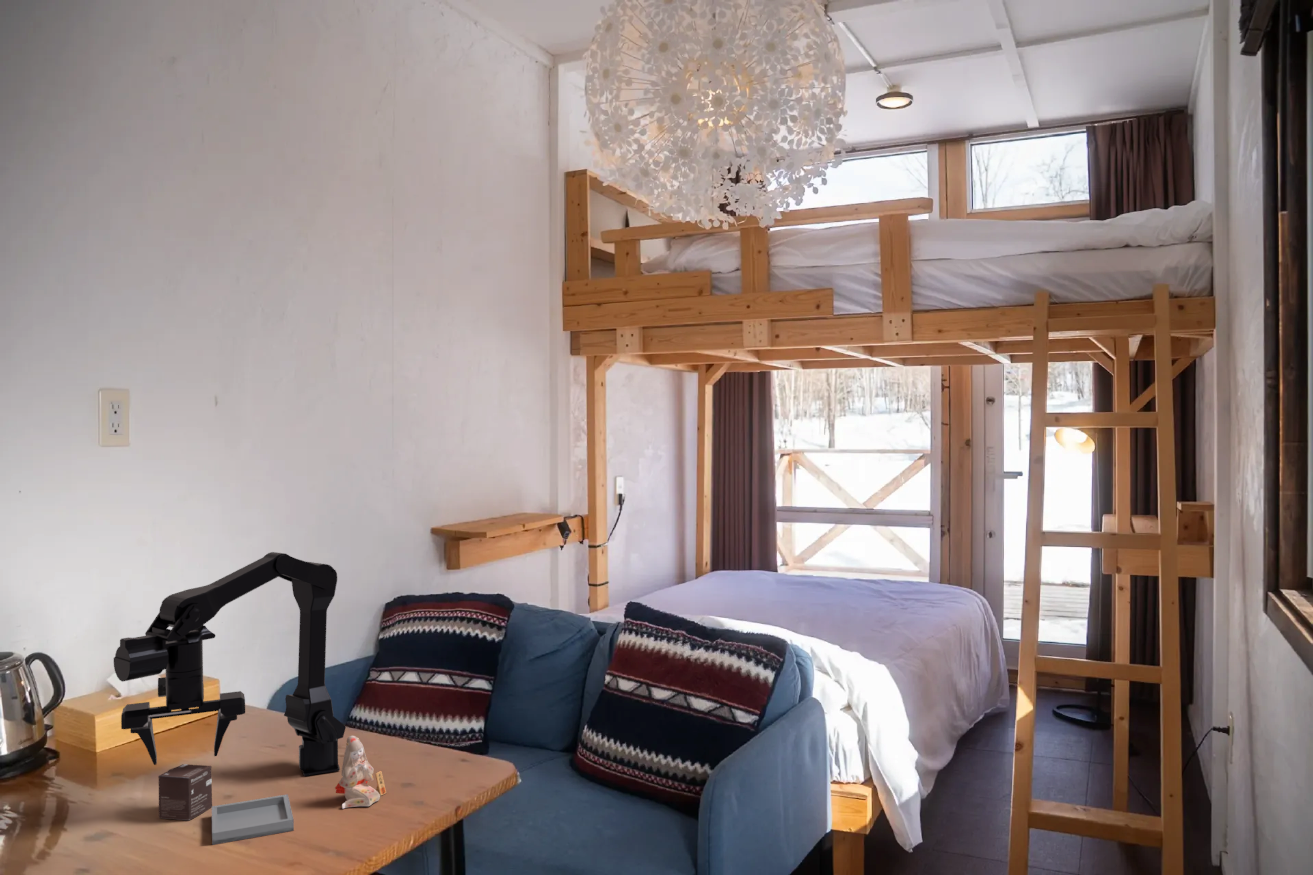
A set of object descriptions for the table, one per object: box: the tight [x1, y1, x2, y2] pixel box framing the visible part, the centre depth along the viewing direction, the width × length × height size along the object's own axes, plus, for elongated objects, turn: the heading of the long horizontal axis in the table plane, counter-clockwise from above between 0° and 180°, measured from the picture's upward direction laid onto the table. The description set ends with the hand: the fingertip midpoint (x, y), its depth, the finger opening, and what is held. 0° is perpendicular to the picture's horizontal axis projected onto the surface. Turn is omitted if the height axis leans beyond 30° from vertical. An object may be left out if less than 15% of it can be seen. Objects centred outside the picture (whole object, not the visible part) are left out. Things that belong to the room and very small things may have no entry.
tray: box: [211, 793, 295, 846], centre depth 158 cm, size 12×12×2 cm
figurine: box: [334, 735, 387, 809], centre depth 167 cm, size 9×7×12 cm
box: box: [158, 763, 213, 821], centre depth 162 cm, size 6×6×7 cm
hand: (185, 759), depth 162 cm, fingers open, 9 cm apart
